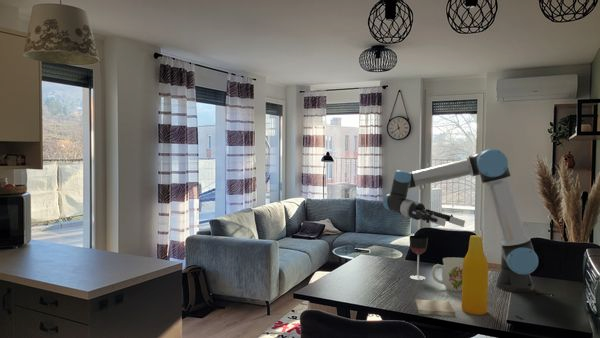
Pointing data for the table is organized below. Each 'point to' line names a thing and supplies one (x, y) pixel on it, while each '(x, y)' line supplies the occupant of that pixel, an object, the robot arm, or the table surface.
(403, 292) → the table surface
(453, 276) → the pitcher
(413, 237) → the wineglass
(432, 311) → the birch board
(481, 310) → the beer bottle
